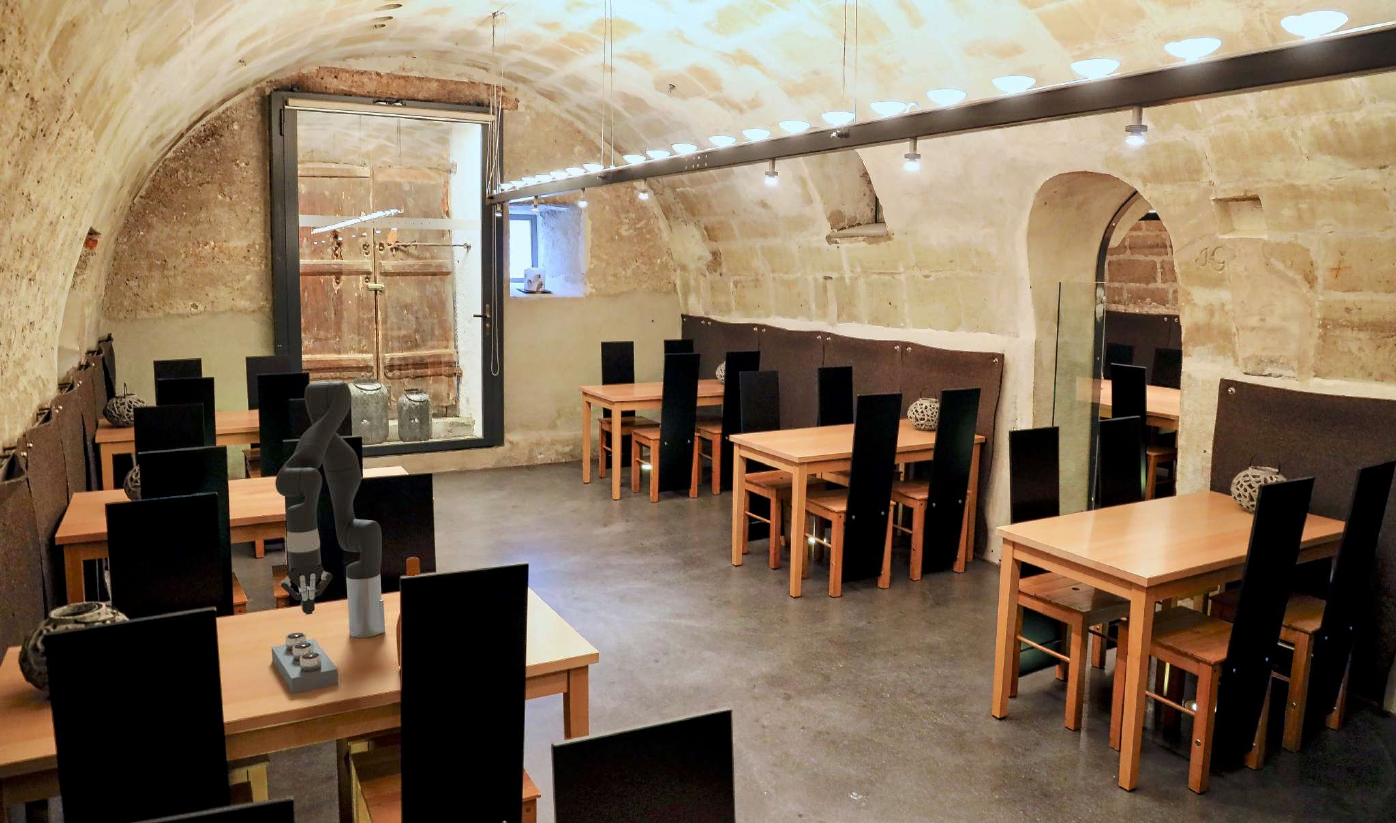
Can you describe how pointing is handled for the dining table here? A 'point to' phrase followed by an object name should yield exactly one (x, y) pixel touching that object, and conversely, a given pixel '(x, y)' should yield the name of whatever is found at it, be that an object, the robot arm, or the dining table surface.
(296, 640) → the knob
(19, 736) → the dining table surface
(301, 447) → the robot arm
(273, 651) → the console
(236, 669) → the dining table surface
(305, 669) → the knob
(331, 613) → the dining table surface
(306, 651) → the knob
